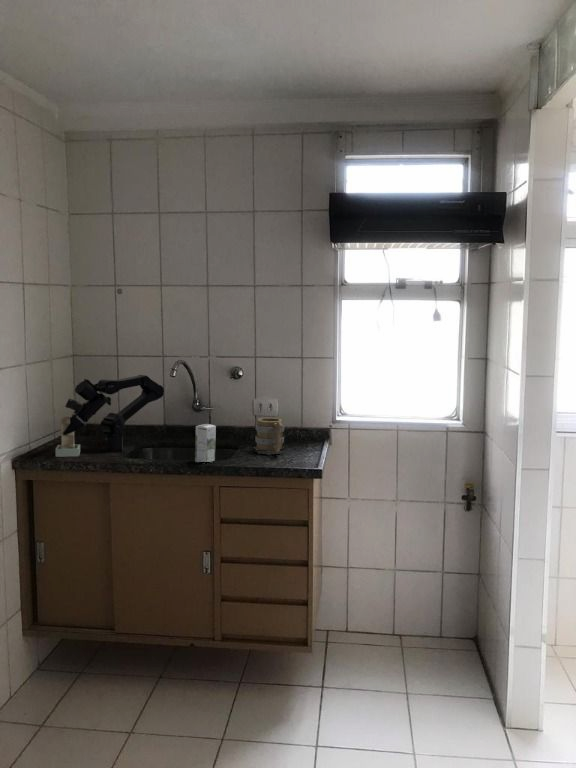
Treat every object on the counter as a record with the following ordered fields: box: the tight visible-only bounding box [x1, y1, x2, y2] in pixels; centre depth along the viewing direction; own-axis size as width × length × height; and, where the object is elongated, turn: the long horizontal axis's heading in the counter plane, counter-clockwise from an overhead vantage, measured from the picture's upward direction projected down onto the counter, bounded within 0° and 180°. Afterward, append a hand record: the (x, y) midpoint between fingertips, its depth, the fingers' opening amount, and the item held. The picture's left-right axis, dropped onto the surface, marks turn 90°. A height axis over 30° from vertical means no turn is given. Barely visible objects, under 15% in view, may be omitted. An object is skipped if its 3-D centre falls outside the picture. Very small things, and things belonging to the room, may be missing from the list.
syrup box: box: [194, 423, 217, 463], centre depth 255 cm, size 6×6×14 cm
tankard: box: [253, 417, 285, 452], centre depth 273 cm, size 20×13×15 cm, turn 18°
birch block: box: [60, 416, 75, 449], centre depth 262 cm, size 4×4×13 cm
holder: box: [55, 443, 81, 458], centre depth 263 cm, size 9×9×3 cm
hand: (64, 433), depth 262 cm, fingers closed on birch block, 4 cm apart
